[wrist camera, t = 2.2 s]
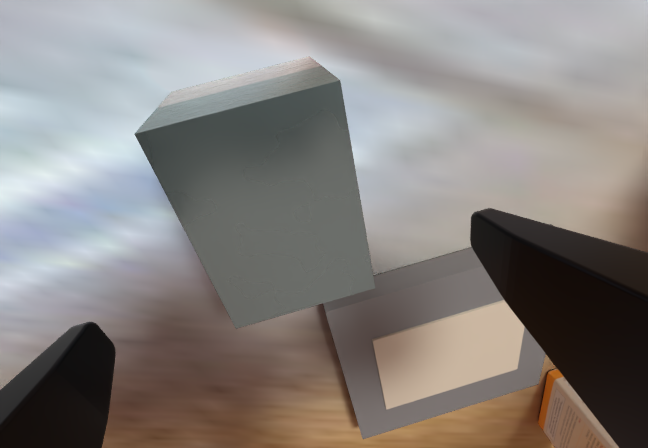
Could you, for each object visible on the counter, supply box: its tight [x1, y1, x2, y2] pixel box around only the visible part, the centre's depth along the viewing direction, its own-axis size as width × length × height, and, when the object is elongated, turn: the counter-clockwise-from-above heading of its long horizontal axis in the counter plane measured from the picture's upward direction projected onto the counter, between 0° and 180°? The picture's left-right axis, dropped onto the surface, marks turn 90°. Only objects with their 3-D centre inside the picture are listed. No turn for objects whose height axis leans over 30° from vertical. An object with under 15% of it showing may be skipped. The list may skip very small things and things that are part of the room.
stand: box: [323, 224, 553, 439], centre depth 22 cm, size 13×13×2 cm
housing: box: [135, 56, 375, 329], centre depth 12 cm, size 5×7×5 cm
